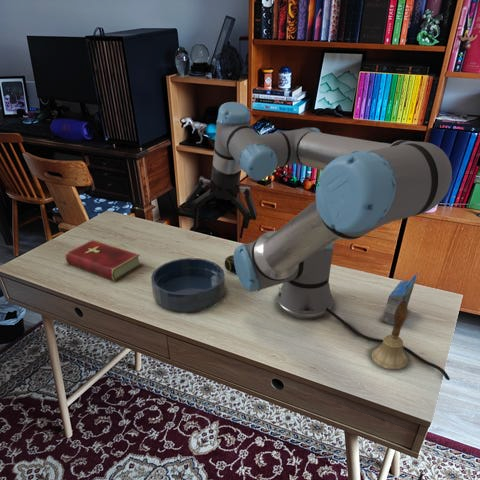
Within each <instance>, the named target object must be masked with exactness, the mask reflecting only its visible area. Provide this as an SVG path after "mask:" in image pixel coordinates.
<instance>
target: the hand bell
mask: <svg viewBox="0 0 480 480" xmlns="http://www.w3.org/2000/svg"><path fill="white" fill-rule="evenodd" d="M408 312H409V311H408V306H407V302H406V301H401V303H400V304H399V306H398V307H397V309H396V311H395V314H394V325H393V328H392V332H391V334H389V335H386V336H384V337H383V339H382V340H383V342H382V343H381V344H380V346H378V347H376V348H374V350H372V351H371V359H372V361H373V362H374V363H375V364H376V365H378V366H379V367H381V368H384V369H387V370H393V371H394V370H395V371H396V370H401V369H404V368H405V367H406V366H407V365H408V361H409V359H408V356H407V355H406V354H405V351H404V350H403V346H404V340H403V339H402V338H401V337H400V334H401V329H402V326H403V325H404V323H405V321H406V320H407V316H408Z"/></svg>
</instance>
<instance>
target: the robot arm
mask: <svg viewBox="0 0 480 480" xmlns="http://www.w3.org/2000/svg"><path fill="white" fill-rule="evenodd" d="M251 114H252V113H251V110H250V108H249V107H248V106H247V105H245V104H243V103H241V102H237V101H229V102H225V103H223V104H221V105H220V106H219V108H218V114H217V119H216V126H215V137H214V147H213V155H212V156H213V157H212V166H211V175H210V179H207V178H205V176H204V175H200V176H199V179H198V182H197V184H196V185H195V187H194V188H193V190H192V191H191V192H190V194H189V195H188V196H187V198H186V199H185V201H184V207H186V208H189V209H190V215H189V216H190V219H193V226H192V227H193V228H192V229H193V230H194V231H195V230H197V226H198V224H199V223H198V221H199V220H198V219H199V210H200V207H201V206H202V205H204V204H205V203H206V202H208V201H209V200H212V199H213V198H214V197H215V198H216V199H219V200H221V199H222V200H224V201H228V200H230V201H231V203H232V204H233V205H235V207H236V208H237V210H238V211H239V213H240V214H241V216H242V221H241V225H240V231H239V237H238V238H239V239H243V234H244V230H245V229H246V230H248V228H249V225H250V221H251V220H253V221H256V220H257V218H258V211H257V209H256V205H255V203H254V199H253V197H252V194H251V186H250V184H246V185H245V186H241V184H240V181H241V175H242V172H244V173H245V174H247V176H248V177H249V178H251V179H252V180H254V181H263V180H266V178H267V177H270V176H272V174H274V172H275V171H276V169H277V168H281V167H285V166H290V165H299V166H304V167H308V168H311V169H315V170H320V171H321V173H320V175H319V177H318V180H317V182H318V184H319V185H317V186H316V187H315V200H314V201H313V202H311V203H310V204H309V205H307V207H305V208H304V209H303V210H301V211H300V212H299V213H298V214H296V215H295V216H294V217H293V218H292V219H291V220H288V222H287V223H285V224H284V225H282V227H280V228H279V229H278V230H269V231H266V232H264V233H263V234H261V235H260V236H259V237H258V238H256V239H255V240H254V241H252V242H249V243H242V244H241V245H238V246H236V247H235V248H234V251H233V255H234V265H235V269H236V272H235V273H236V275H237V279H238V280H239V283H240V284H241V286H242V287H243V288H244V289H245V291H247V292H250V293H252V292H260V291H261V290H265V289H267V288H271V287H274V286H277V285H278V291H279V292H278V294H277V306H278V309H279V310H280V311H281V312H282V313H284V314H285V315H287V316H289V317H291V318H295V319H299V320H316V319H320V318H323V317H325V316H327V315H328V314H330V315H331V316H333V317H334V318H335V319H336V320H338V321H339V322H340V323H341V324H343V325H344V326H346V327H347V328H348V329H349V330H350V331H351V332H353V333H354V334H355V335H357V336H358V337H360V338H363V339H365V340H367V341H371V342H375V343H381V344H382V342H383V340H384V339H380V338H375V337H370V336H368V335H365V334H363V333H362V332H359V331H358V330H357V329H355V328H354V327H353V326H352V325H351V324H350V323H348V322H346V321H345V320H344V319H342V317H340V316H339V315H338V314H337V313H336V312H334V311H332V309H333V303H334V298H333V295H332V292H331V288H330V287H331V286H330V276H331V275H330V274H331V268H332V260H333V253H334V249H335V245H334V244H335V243H336V242H338V241H340V240H341V239H342V240H346V241H347V240H349V241H350V240H351V241H352V240H357V239H359V238H362V237H363V236H365V235H367V234H369V233H371V232H372V231H374V230H376V229H378V228H380V227H383V226H384V225H387V224H390V223H393V222H396V221H400V220H404V219H407V218H411V217H415V216H419V215H422V214H424V213H425V214H426V213H427V212H429V211H431V210H432V209H434V208H435V207H436V206H437V205H439V204H440V203H441V202H442V200H443V199H444V198H445V196H446V195H447V193H448V192H449V189H450V187H451V183H452V180H453V179H452V177H453V169H452V168H453V167H452V164H451V161H450V159H449V157H448V155H447V154H446V153H445V152H444V150H443V149H442V148H440V147H439V146H437V145H436V144H433V143H430V142H426V141H414V140H413V141H412V140H407V139H406V140H405V139H400V140H396V141H394V142H392V143H386V142H379V141H372V140H367V139H361V138H356V137H355V138H354V137H348V136H343V135H342V136H341V135H335V134H329V133H323V132H322V131H321V130H320V129H319V128H317V127H302V128H298V129H293V130H287V131H277V132H271V133H264V134H258V133H257V132H256V131H255V130H254V128H252V126H251V125H250V123H251ZM206 186H208V188H209V189H208V190H206V191H205V192H204V193H203V194H201V195H200V196H199V197H197V196H198V195H199V194H200V192H201V191H202V190H203V188H205V187H206ZM240 192H241V195H242V196H243V197H244V200H245V203H244V202H243V201H242V199H241V197H240V195H239V193H240ZM196 197H197V198H196ZM281 284H282V285H281ZM279 285H281V287H280V286H279ZM403 351H404V352H407V353H408V354H409V355H411V356H412V357H414V358H415V359H416V360H418V361H420V362H421V363H423V364H425V365H426V366H429V367H431V368H434V369H436V370H437V371H439V372H440V373H441V374H442V375H443V377H444V378H445V380H446V381H450V379H451V378H450V376H449V375H448V373H447V372H446V371H445V370H444V369H443V368H442V367H440V366H439V365H437V364H436V363H433V362H430V361H428V360H426V359H424V358H423V357H421V356H420V355H419V354H417V353H415V352H414V351H412V350H411V349H410V348H408V347H406V346H404V345H403ZM423 477H424V474H423V473H422V472H420V473H419V476H418V478H417V480H423Z"/></svg>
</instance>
